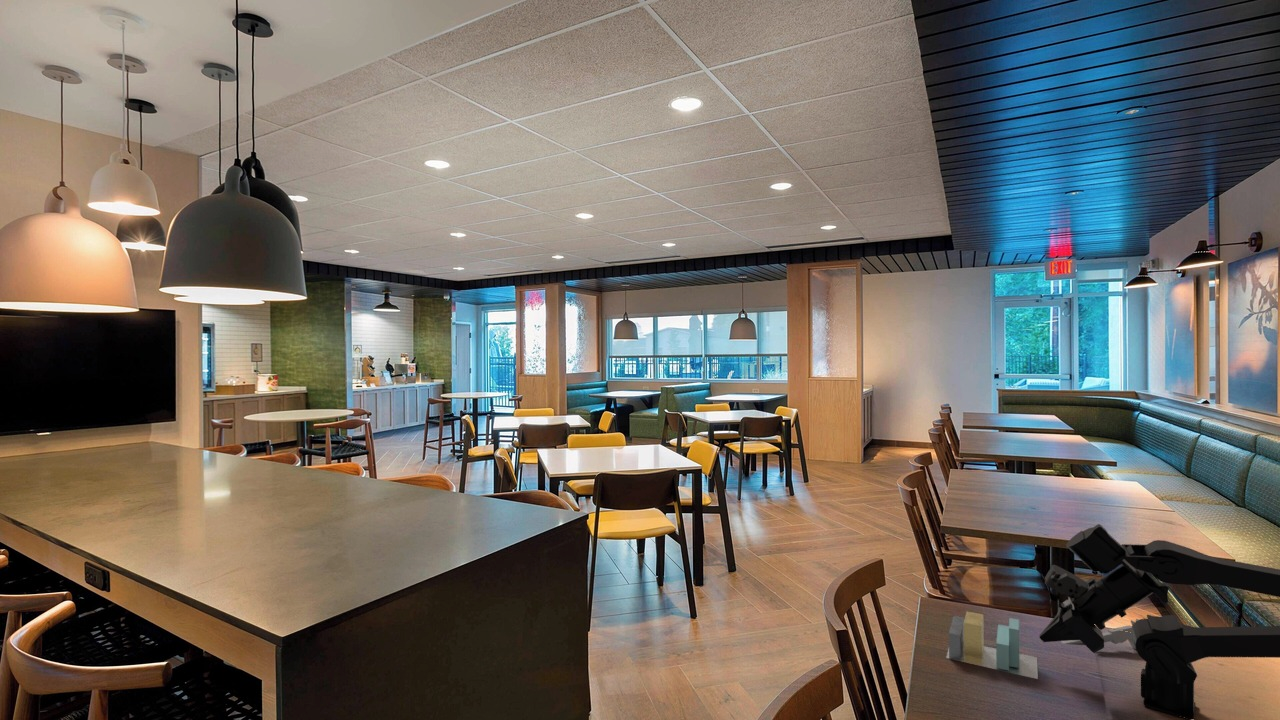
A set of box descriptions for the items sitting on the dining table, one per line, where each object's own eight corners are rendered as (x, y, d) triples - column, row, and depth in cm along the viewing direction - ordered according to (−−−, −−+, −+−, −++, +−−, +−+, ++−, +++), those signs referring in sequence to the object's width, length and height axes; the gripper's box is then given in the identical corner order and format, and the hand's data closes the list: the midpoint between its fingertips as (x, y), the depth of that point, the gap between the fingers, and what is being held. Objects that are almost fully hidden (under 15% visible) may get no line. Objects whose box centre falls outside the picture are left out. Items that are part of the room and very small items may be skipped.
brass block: (983, 649, 122) (983, 614, 122) (981, 662, 117) (981, 626, 117) (966, 645, 123) (966, 611, 123) (964, 658, 118) (963, 622, 118)
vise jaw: (1019, 652, 120) (1019, 615, 120) (1019, 672, 112) (1018, 634, 112) (998, 647, 122) (998, 612, 122) (996, 667, 114) (996, 629, 114)
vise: (1037, 665, 118) (1036, 632, 118) (1037, 687, 111) (1037, 651, 111) (951, 646, 126) (950, 615, 126) (946, 665, 119) (945, 632, 119)
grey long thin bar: (1143, 648, 125) (1143, 618, 125) (1147, 651, 124) (1147, 620, 123) (1044, 650, 125) (1044, 619, 125) (1047, 652, 124) (1047, 622, 123)
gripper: (1072, 541, 119) (1007, 586, 125) (1079, 571, 103) (1004, 621, 109) (1123, 589, 115) (1053, 633, 121) (1139, 628, 99) (1057, 676, 105)
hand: (1041, 639), depth 114 cm, fingers closed
